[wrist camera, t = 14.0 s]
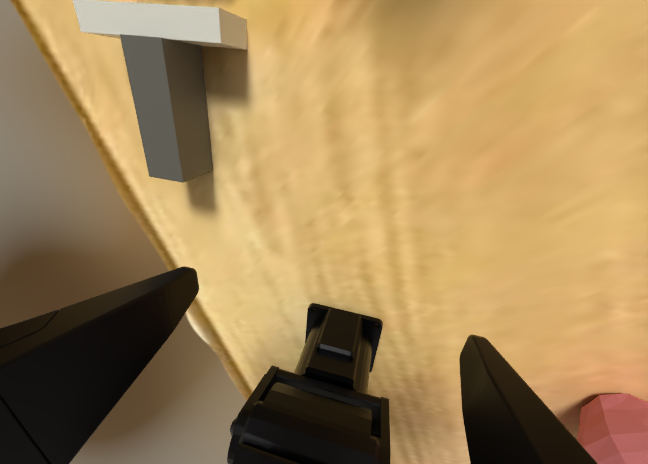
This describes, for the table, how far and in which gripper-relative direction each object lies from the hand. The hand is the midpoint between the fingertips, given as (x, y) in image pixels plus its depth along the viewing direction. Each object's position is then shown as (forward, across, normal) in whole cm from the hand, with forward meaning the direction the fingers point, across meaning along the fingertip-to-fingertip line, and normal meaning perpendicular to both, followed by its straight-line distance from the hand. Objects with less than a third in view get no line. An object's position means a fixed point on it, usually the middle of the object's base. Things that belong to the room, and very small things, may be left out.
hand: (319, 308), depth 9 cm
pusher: (+12, +13, -5) cm, 18 cm away
